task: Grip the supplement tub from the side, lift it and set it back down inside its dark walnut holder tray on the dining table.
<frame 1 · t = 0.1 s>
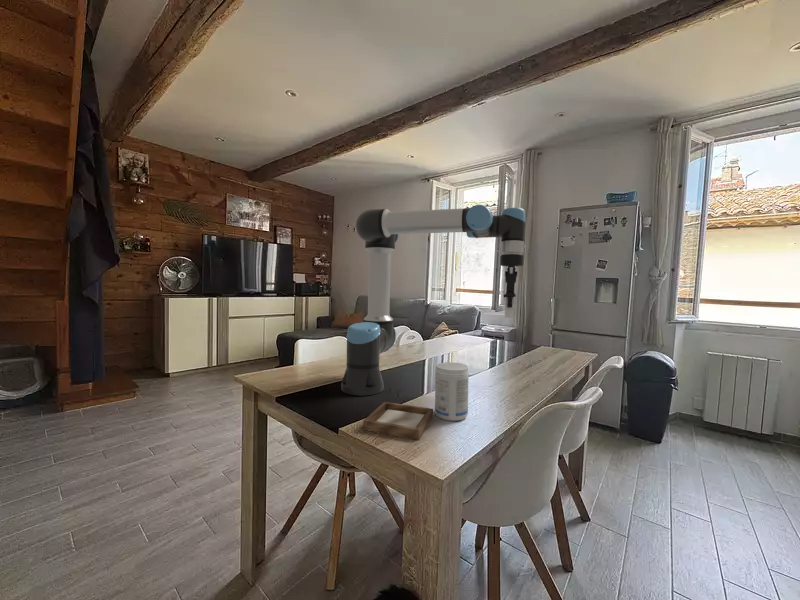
hand: (509, 316, 114), 28 cm above the table, tool pointing down, fingers open, 13 cm apart
supplement tub: (450, 416, 97), on the table
holder tray: (399, 423, 90), on the table
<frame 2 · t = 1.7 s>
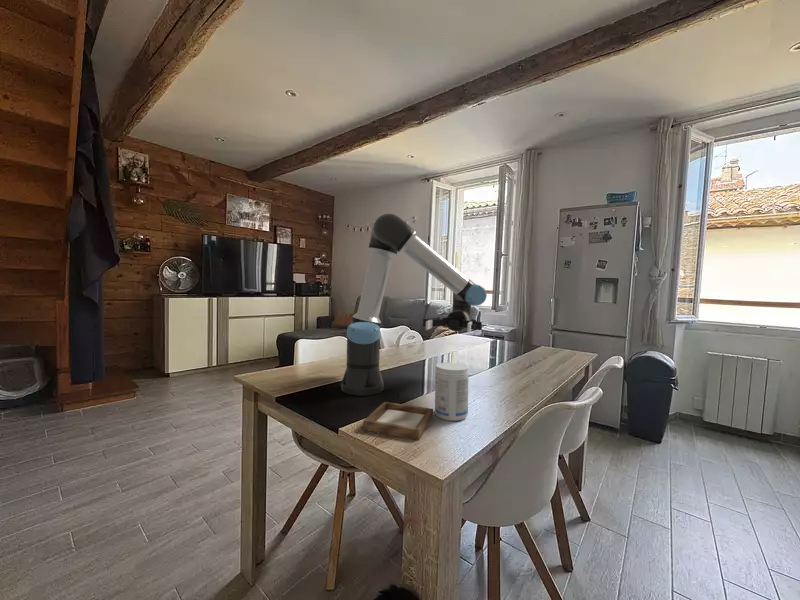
hand: (447, 326, 107), 25 cm above the table, tool horizontal, fingers open, 13 cm apart
nothing on the table moved.
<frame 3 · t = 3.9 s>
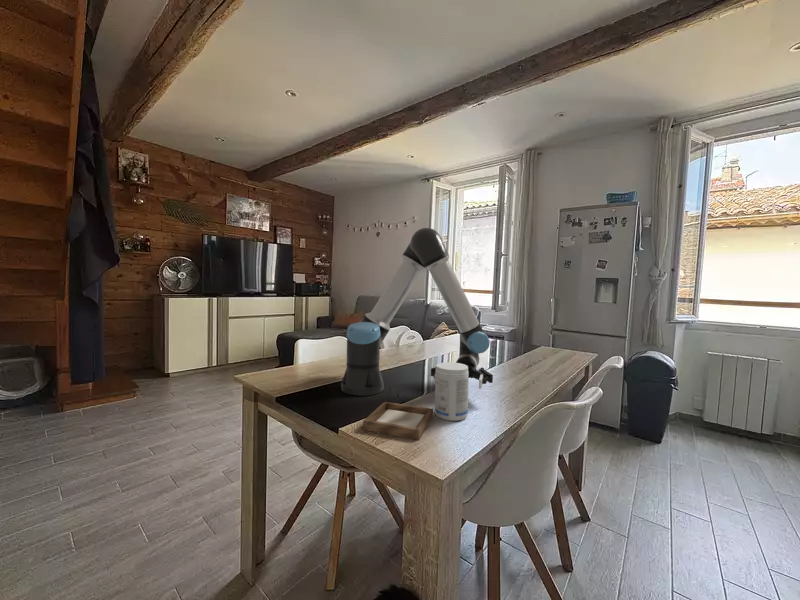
hand: (457, 381, 102), 8 cm above the table, tool horizontal, fingers open, 13 cm apart
nothing on the table moved.
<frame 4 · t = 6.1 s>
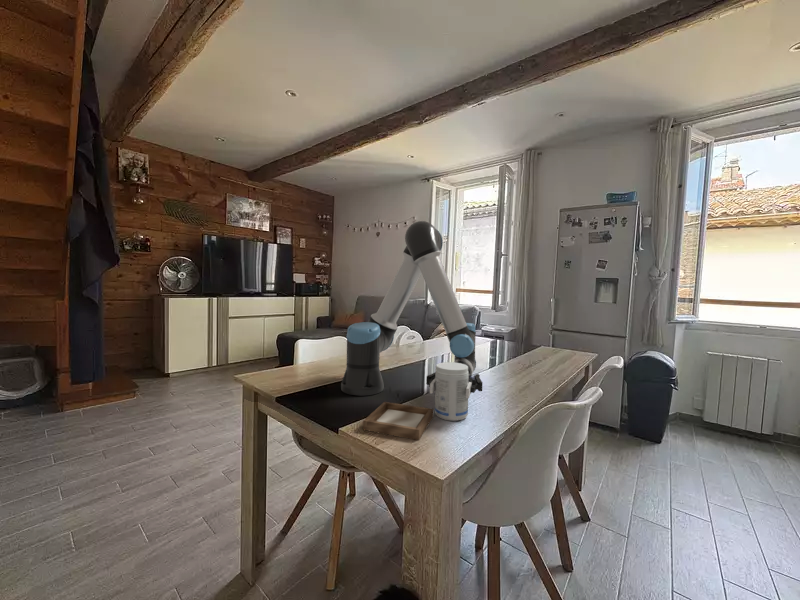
hand: (449, 391, 92), 9 cm above the table, tool horizontal, fingers closed on supplement tub, 9 cm apart
supplement tub: (450, 416, 97), on the table, touching gripper
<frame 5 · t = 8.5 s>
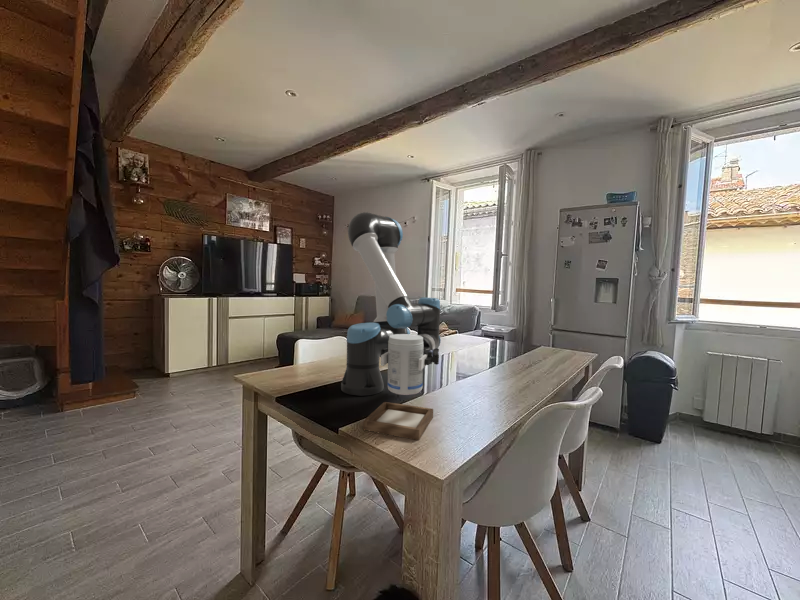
hand: (400, 362, 85), 18 cm above the table, tool horizontal, fingers closed on supplement tub, 9 cm apart
supplement tub: (404, 390, 90), point 9 cm above the table, touching gripper
when the fingers open (11 cm above the table, at t = 10.8 s): supplement tub drops 1 cm, resting on holder tray.
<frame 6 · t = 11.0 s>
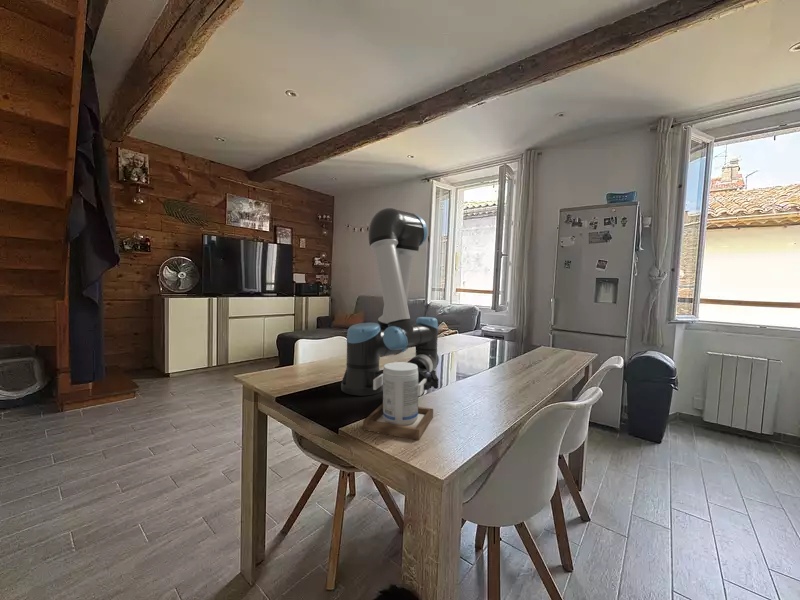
hand: (396, 387, 86), 11 cm above the table, tool horizontal, fingers open, 11 cm apart
supplement tub: (400, 419, 90), point 1 cm above the table, touching holder tray
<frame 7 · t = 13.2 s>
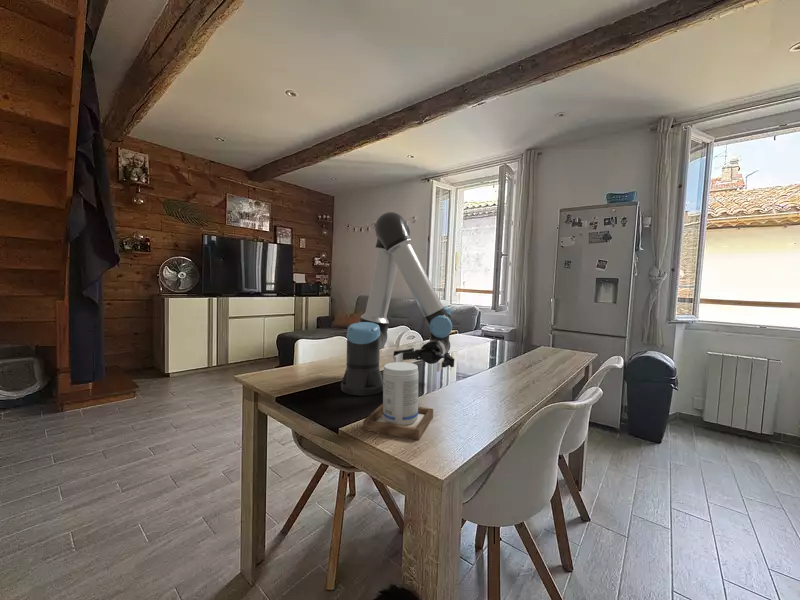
hand: (416, 363, 99), 14 cm above the table, tool horizontal, fingers open, 13 cm apart
nothing on the table moved.
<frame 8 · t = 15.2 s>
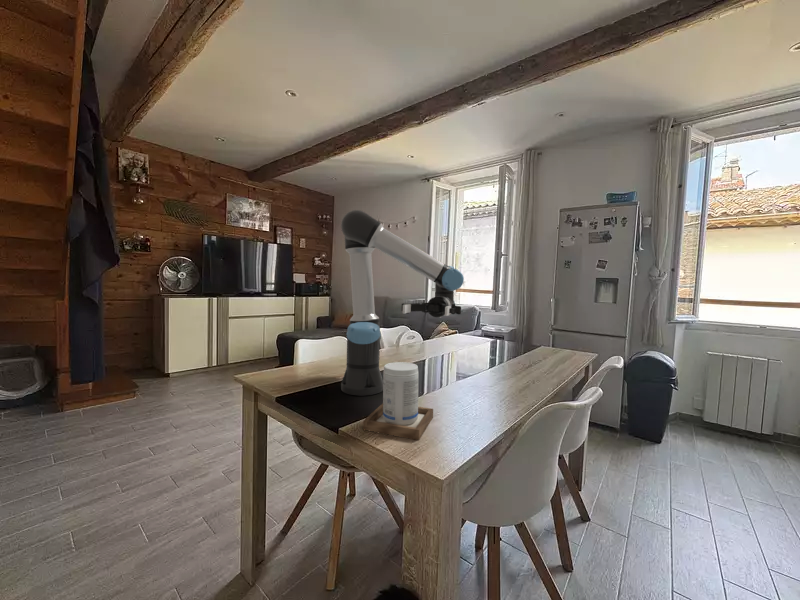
hand: (424, 310, 103), 30 cm above the table, tool horizontal, fingers open, 13 cm apart
nothing on the table moved.
at the end: supplement tub inside the target area on the holder tray (0.0 cm from its centre), point 1.0 cm above the holder tray's base; supplement tub tilted 0°; the gripper is holding nothing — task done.
